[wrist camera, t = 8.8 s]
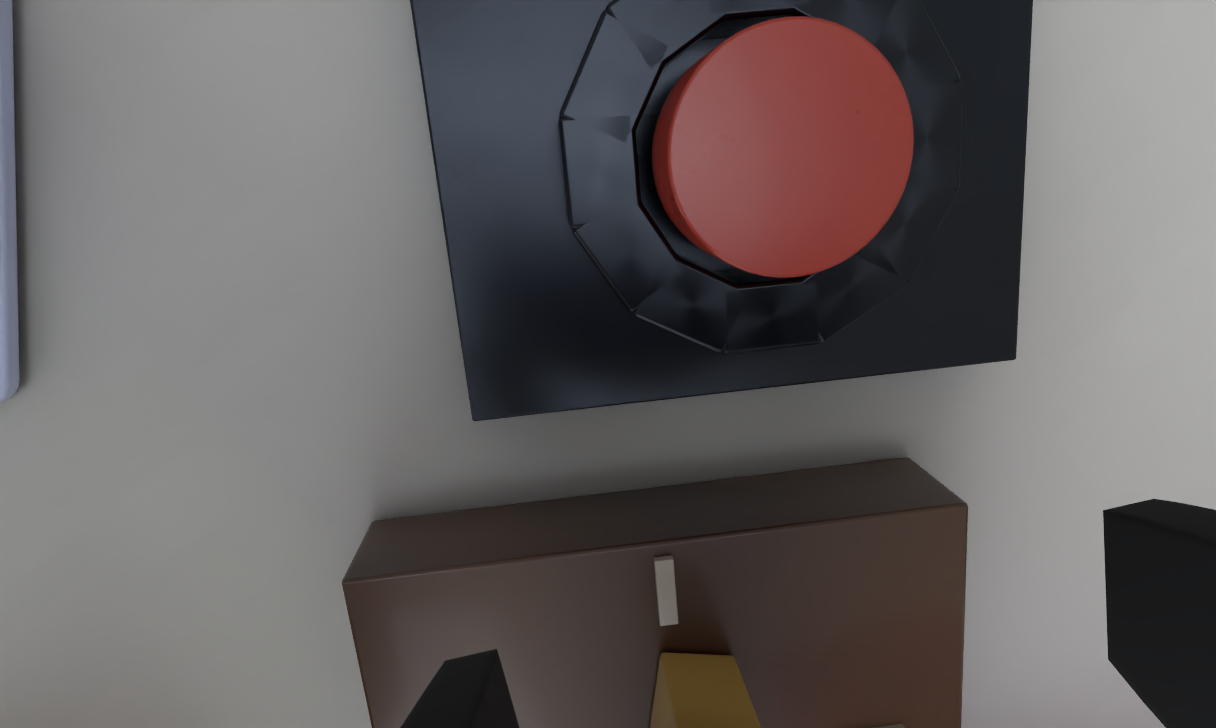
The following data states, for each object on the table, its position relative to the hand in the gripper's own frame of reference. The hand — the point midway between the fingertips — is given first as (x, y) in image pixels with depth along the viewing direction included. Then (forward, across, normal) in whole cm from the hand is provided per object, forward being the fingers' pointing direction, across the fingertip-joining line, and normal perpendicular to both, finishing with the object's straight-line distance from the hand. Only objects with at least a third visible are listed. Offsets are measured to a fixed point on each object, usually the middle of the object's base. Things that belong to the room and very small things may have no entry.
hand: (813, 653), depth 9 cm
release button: (+5, -2, -5) cm, 8 cm away
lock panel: (+8, +2, +6) cm, 10 cm away
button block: (+8, -2, -5) cm, 10 cm away
